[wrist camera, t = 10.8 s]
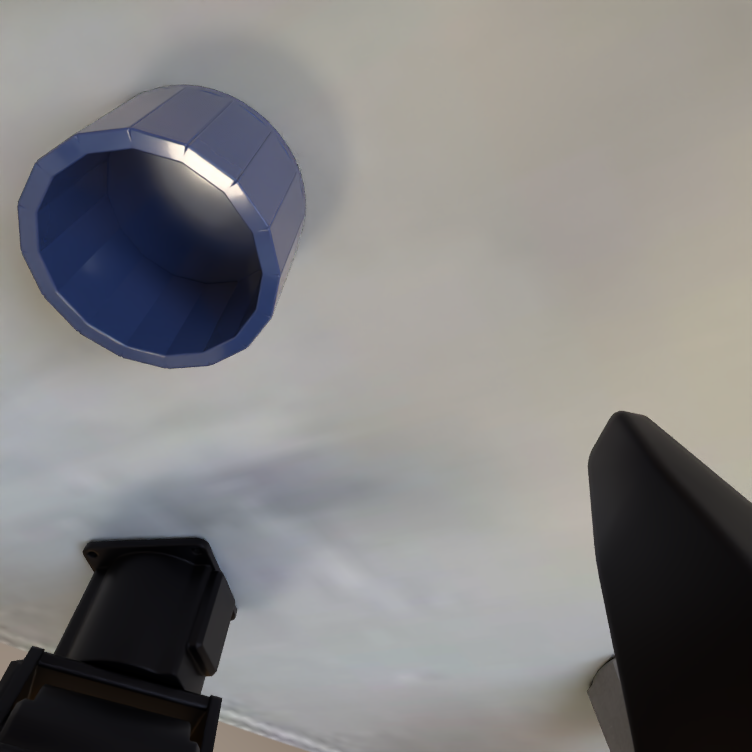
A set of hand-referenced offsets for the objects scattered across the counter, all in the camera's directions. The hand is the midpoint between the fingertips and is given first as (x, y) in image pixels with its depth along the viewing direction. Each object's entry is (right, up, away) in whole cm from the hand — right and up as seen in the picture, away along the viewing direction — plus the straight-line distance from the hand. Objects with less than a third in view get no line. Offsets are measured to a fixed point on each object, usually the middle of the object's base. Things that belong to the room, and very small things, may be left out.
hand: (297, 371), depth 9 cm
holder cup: (-5, +6, +12) cm, 14 cm away
